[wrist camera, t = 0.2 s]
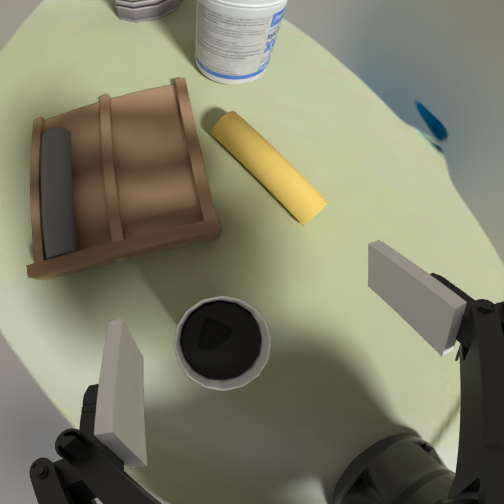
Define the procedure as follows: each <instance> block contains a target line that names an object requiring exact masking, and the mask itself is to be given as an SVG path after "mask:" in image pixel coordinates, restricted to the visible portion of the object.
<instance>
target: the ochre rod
mask: <svg viewBox="0 0 504 504" xmlns="http://www.w3.org/2000/svg"><path fill="white" fill-rule="evenodd" d="M211 133H212V135H213V136H214V137H215V138H216V139H217V140H218V141H219V142H220V143H221V144H222V145H224V146H225V147H226V148H227V149H228V150H229V151H230V152H231V153H232V154H233V155H234V156H235V157H236V158H237V159H238V160H239V161H240V162H241V163H242V164H243V165H244V166H245V167H246V168H247V169H248V170H249V171H250V172H251V173H252V174H253V175H254V176H255V177H256V178H257V179H258V180H259V181H260V182H261V183H262V184H263V185H264V186H265V187H266V188H267V189H268V190H269V191H270V192H271V193H272V194H273V195H274V196H275V197H276V198H277V199H278V200H279V201H280V202H281V203H282V204H283V205H284V206H285V207H286V208H287V209H288V210H289V211H290V212H291V213H292V214H293V215H294V216H295V218H296V219H297V220H298V221H299V222H300V223H301V224H302V225H303V226H304V225H305V224H307V223H308V222H309V221H310V220H311V219H312V218H313V217H314V216H315V215H316V214H317V213H318V212H319V211H320V210H321V209H322V208H323V207H324V206H325V205H326V204H327V203H328V202H327V200H326V199H325V198H324V197H323V196H322V195H321V194H320V193H319V192H318V191H317V190H316V189H315V188H314V187H313V186H312V185H311V184H310V183H309V182H308V181H307V180H306V179H305V178H304V177H303V176H302V175H301V174H300V173H299V172H298V171H297V170H296V169H295V168H294V167H293V166H292V165H291V164H290V163H289V162H288V161H287V160H286V159H285V158H284V157H283V156H282V155H281V154H280V153H279V152H278V151H277V150H276V149H275V148H274V147H273V146H272V145H271V144H270V143H269V142H268V141H267V140H265V139H264V138H263V137H262V136H261V135H260V134H259V133H258V132H257V131H256V130H255V129H254V128H253V127H252V126H250V125H249V124H248V123H247V122H246V121H245V120H244V119H243V118H242V117H240V116H239V115H238V114H237V113H236V112H235V111H231V112H228V113H227V114H225V115H224V116H222V117H221V118H220V119H219V120H218V121H217V123H216V124H215V125H214V127H213V129H212V132H211Z"/></svg>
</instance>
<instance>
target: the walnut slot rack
mask: <svg viewBox="0 0 504 504" xmlns="http://www.w3.org/2000/svg"><path fill="white" fill-rule="evenodd" d="M53 128H64V129H67V130H69V131H70V133H71V166H72V188H73V202H74V214H75V224H76V232H77V241H78V248H79V251H77V252H73V253H69V254H66V255H62V256H58V257H55V258H51V259H48V260H47V259H46V251H45V242H44V231H43V217H42V194H41V156H42V137H43V134H44V133H45V132H46V131H48V130H50V129H53ZM30 197H31V223H32V238H33V249H34V258H35V263H33V264H30V265H26V266H27V274H28V277H29V278H34V279H40V280H45V279H49V278H53V277H57V276H61V275H65V274H69V273H73V272H77V271H81V270H85V269H89V268H93V267H97V266H101V265H105V264H109V263H113V262H117V261H121V260H126V259H130V258H134V257H138V256H142V255H146V254H151V253H155V252H159V251H163V250H168V249H172V248H176V247H181V246H185V245H189V244H194V243H198V242H203V241H207V240H211V239H216V238H219V236H220V232H221V228H220V224H219V219H218V218H216V216H215V212H214V208H213V204H212V199H211V195H210V191H209V186H208V182H207V177H206V173H205V169H204V164H203V160H202V155H201V151H200V146H199V142H198V137H197V132H196V128H195V123H194V118H193V114H192V109H191V104H190V99H189V95H188V90H187V85H186V80H185V78H179V79H175V84H174V85H169V86H163V87H158V88H154V89H149V90H145V91H140V92H136V93H132V94H128V95H124V96H120V97H116V98H112V99H111V98H110V95H109V94H108V95H105V96H101V97H100V102H98V103H95V104H92V105H88V106H85V107H82V108H79V109H76V110H73V111H70V112H67V113H64V114H61V115H58V116H56V117H53V118H50V119H48V120H45V121H44V119H43V118H42V117H40V118H37V119H35V120H34V123H33V134H32V148H31V173H30Z"/></svg>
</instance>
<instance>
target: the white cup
mask: <svg viewBox="0 0 504 504" xmlns="http://www.w3.org/2000/svg"><path fill="white" fill-rule="evenodd" d="M270 348H271V338H270V334H269V329H268V325H267V323H266V322H265V320H264V319H263V318H262V316H261V315H260V313H259V312H258V311H257V309H255V308H254V307H252V306H251V305H249V304H248V303H246V302H244V301H243V300H241V299H238V298H232V297H227V296H217V297H212V298H208V299H203V300H201V301H200V302H198V303H197V304H195V305H194V306H192V307H191V308H190V309H188V310H187V311H186V312H185V314H184V315H183V317H182V319H181V320H180V322H179V323H178V325H177V327H176V333H175V339H174V349H175V353H176V357H177V361H178V364H179V365H180V367H181V368H182V369H183V371H184V372H185V373H186V374H187V376H188V377H189V378H190V379H191V380H193V381H195V382H196V383H198V384H200V385H201V386H203V387H205V388H208V389H214V390H221V391H227V390H231V389H236V388H240V387H243V386H245V385H246V384H248V383H249V382H251V381H252V380H253V379H255V378H256V377H258V376H259V374H260V373H261V371H262V370H263V368H264V366H265V365H266V363H267V362H268V359H269V354H270Z"/></svg>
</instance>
